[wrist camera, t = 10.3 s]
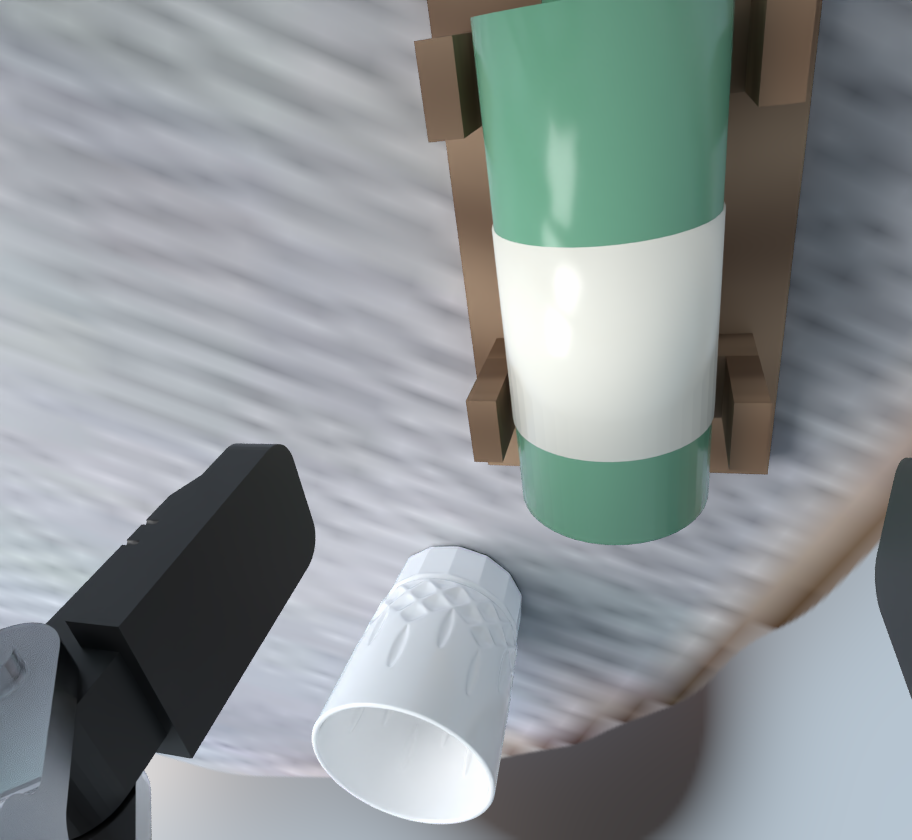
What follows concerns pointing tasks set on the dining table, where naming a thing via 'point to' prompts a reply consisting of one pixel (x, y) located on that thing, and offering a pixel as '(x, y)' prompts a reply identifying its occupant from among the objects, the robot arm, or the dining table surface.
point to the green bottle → (609, 251)
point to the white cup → (427, 691)
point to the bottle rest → (746, 221)
